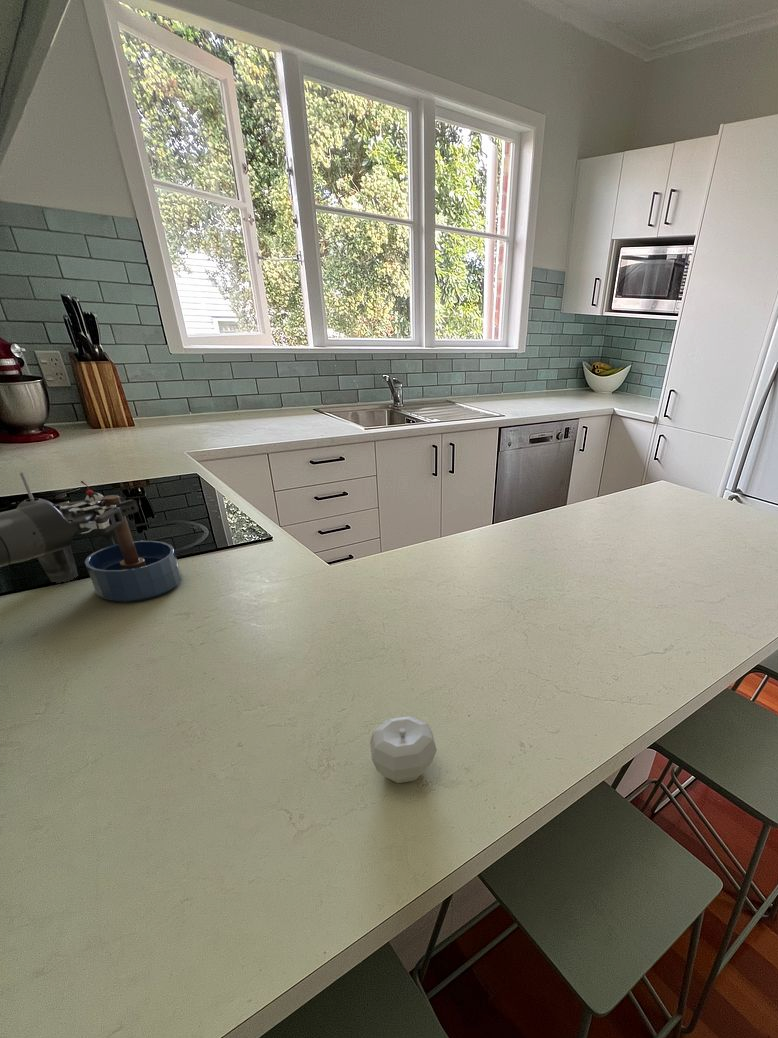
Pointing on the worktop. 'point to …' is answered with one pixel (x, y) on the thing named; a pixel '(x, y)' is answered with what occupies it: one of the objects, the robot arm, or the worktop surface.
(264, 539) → the worktop surface
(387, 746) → the apple
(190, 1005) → the worktop surface
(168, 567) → the bowl
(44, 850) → the worktop surface
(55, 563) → the beverage cup
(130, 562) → the brown pestle
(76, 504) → the robot arm
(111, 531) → the sundae
